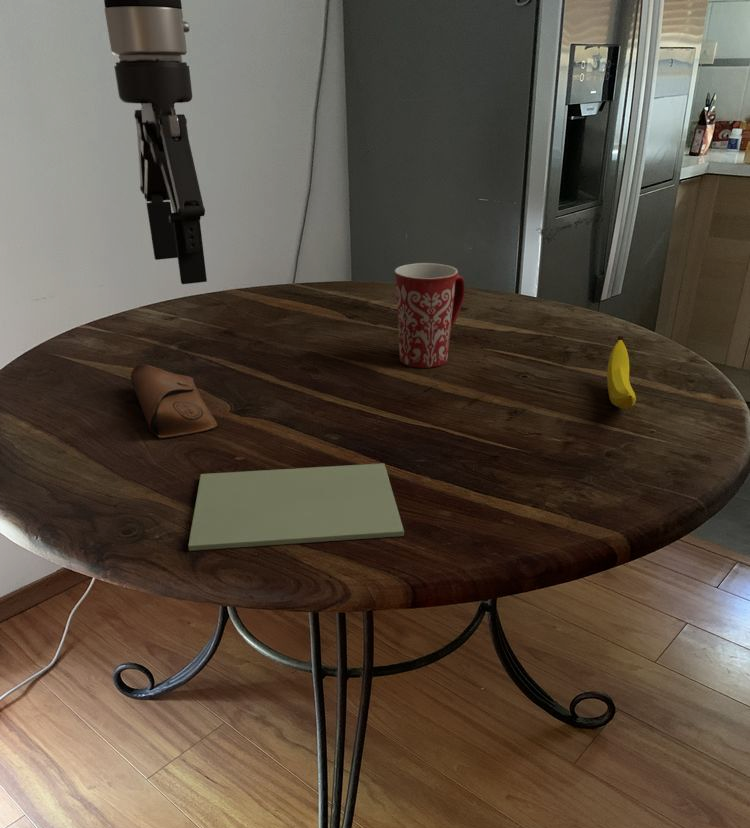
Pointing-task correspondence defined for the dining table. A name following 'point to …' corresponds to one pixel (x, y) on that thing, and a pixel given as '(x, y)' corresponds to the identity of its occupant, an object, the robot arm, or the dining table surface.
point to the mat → (294, 507)
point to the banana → (620, 377)
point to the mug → (427, 311)
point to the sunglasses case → (170, 402)
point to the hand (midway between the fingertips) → (179, 269)
